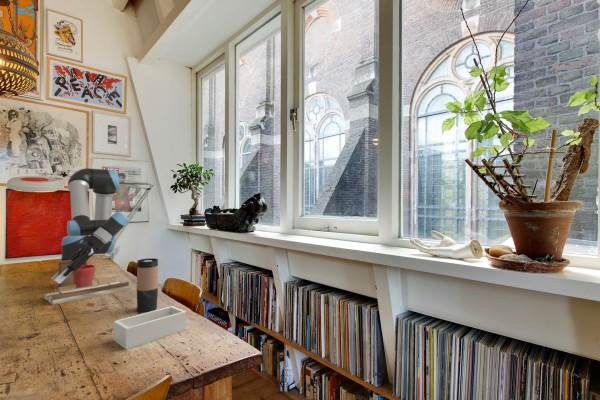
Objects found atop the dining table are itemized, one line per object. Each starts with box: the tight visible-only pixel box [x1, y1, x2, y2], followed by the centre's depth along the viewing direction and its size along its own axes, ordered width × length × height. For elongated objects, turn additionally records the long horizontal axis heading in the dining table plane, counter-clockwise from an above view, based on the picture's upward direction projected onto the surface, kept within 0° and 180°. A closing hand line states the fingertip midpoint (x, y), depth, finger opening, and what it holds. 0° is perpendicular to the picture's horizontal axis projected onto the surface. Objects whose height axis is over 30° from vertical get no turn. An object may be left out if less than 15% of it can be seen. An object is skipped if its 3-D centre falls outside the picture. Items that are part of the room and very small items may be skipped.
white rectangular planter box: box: [113, 305, 188, 350], centre depth 103 cm, size 9×19×6 cm, turn 140°
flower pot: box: [73, 264, 96, 288], centre depth 162 cm, size 11×11×10 cm
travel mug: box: [136, 257, 159, 314], centre depth 127 cm, size 8×8×20 cm
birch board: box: [43, 280, 130, 306], centre depth 147 cm, size 14×30×4 cm, turn 140°
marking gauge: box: [55, 260, 77, 292], centre depth 139 cm, size 7×6×12 cm
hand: (55, 280), depth 135 cm, fingers closed on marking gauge, 4 cm apart
